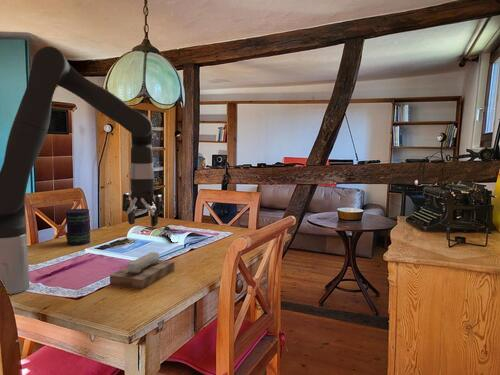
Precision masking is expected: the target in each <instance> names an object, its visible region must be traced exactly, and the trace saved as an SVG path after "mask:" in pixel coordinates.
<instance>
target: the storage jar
mask: <svg viewBox="0 0 500 375" xmlns="http://www.w3.org/2000/svg"><path fill="white" fill-rule="evenodd" d="M90 218H91V217H90V209H88V208H72V209H67V210H65V224H66V235H65V236H66V241H67V242H66V245H67V246H71V247H79V246H80V247H81V246H86V245H89V244H91V230H90Z"/></svg>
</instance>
